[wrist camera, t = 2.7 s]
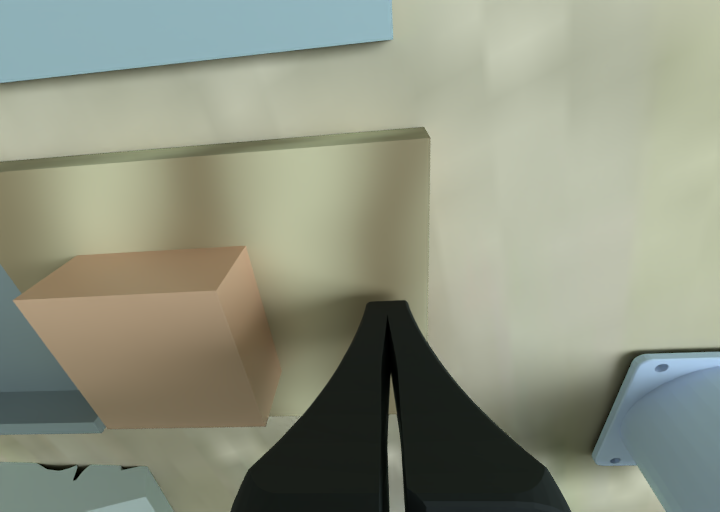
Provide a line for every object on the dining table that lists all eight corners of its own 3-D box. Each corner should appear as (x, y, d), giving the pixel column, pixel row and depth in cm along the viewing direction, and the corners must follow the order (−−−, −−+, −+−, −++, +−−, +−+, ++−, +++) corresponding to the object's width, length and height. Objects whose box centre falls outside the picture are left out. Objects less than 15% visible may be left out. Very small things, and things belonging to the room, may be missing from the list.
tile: (245, 245, 12) (216, 290, 9) (281, 370, 15) (265, 426, 13) (77, 255, 12) (12, 300, 10) (145, 374, 15) (107, 429, 13)
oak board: (424, 127, 11) (430, 137, 10) (422, 385, 17) (426, 413, 16) (-15, 163, 12) (-62, 177, 11) (130, 392, 18) (111, 419, 17)
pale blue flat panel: (384, -116, 8) (385, -138, 7) (392, 70, 11) (394, 73, 9) (-128, -41, 10) (-189, -51, 9) (-31, 114, 12) (-70, 121, 11)
